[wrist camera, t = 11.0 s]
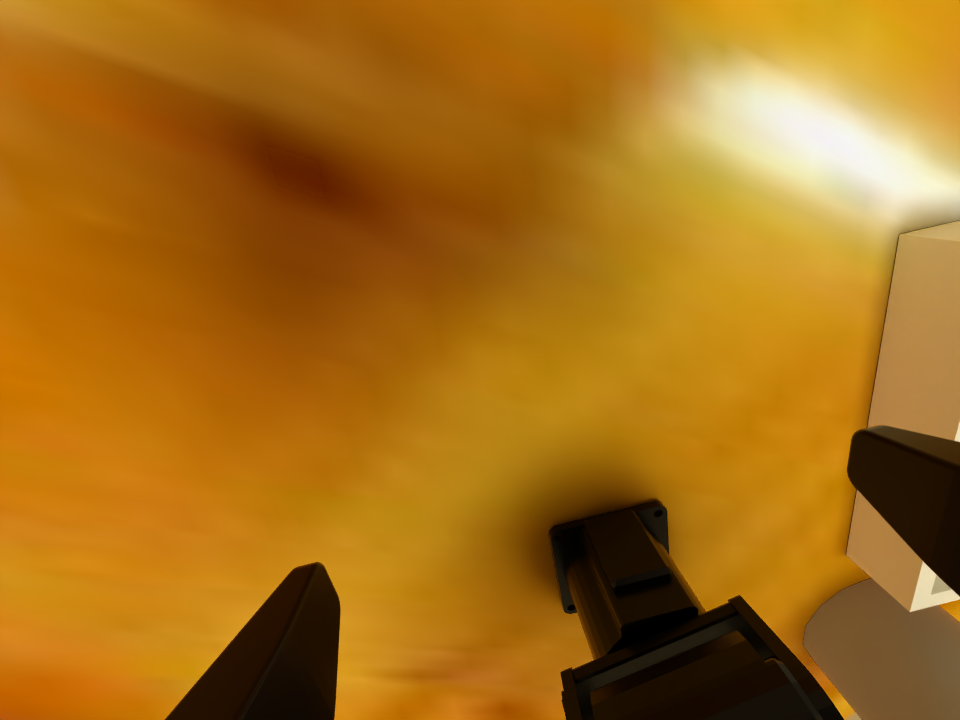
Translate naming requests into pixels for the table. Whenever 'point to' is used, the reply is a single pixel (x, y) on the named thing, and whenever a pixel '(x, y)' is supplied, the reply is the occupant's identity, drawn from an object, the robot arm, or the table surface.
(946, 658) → the cup
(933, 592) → the tray
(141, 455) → the table surface
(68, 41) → the table surface
